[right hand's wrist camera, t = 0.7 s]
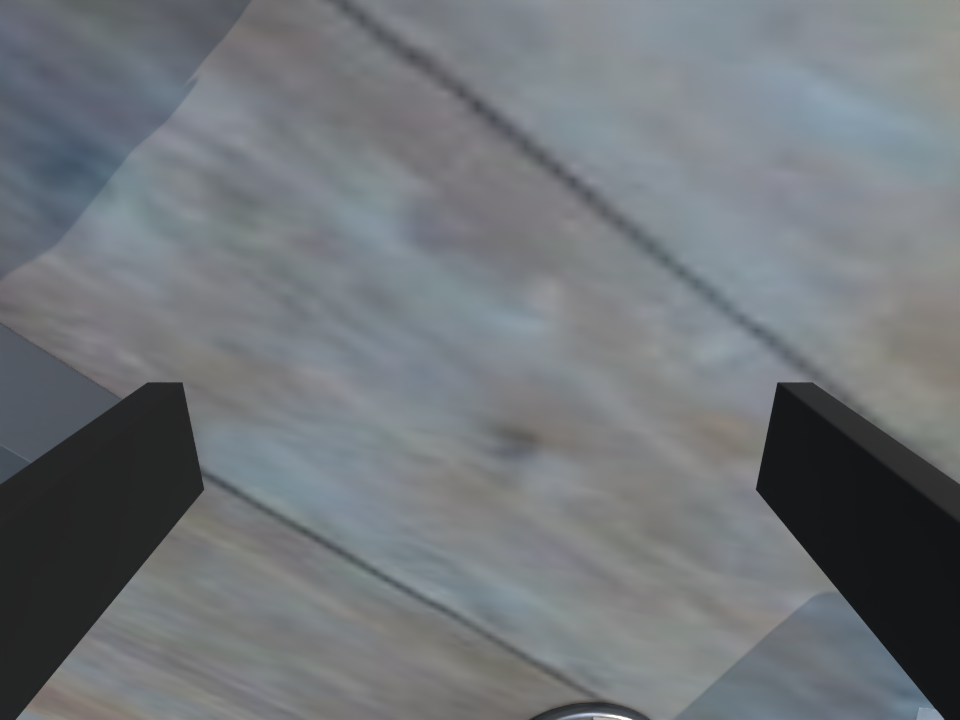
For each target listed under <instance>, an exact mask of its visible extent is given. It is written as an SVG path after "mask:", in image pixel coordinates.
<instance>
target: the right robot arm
mask: <svg viewBox="0 0 960 720" xmlns="http://www.w3.org/2000/svg"><path fill="white" fill-rule="evenodd" d="M203 490H204V487H203V482H202V477H201V472H200V467H199V462H198V457H197V452H196V447H195V442H194V437H193V432H192V427H191V422H190V418H189V413H188V408H187V403H186V398H185V393H184V388H183V383H146V384H145V385H143V386H142V387H141V388H139V389H138V390H136V391H135V392H133V393H132V394H130V395H129V396H128V397H126V398H125V399H123V400H122V401H120V402H119V403H117V404H116V405H114V406H113V407H112V408H110V409H109V410H107V411H106V412H104V413H103V414H101V415H100V416H99V417H97V418H96V419H94V420H93V421H91V422H90V423H88V424H87V425H86V426H84V427H83V428H81V429H80V430H78V431H77V432H75V433H74V434H73V435H71V436H70V437H68V438H67V439H65V440H64V441H62V442H61V443H60V444H58V445H57V446H55V447H54V448H52V449H51V450H49V451H48V452H47V453H45V454H44V455H42V456H41V457H39V458H38V459H36V460H35V461H34V462H32V463H31V464H29V465H28V466H26V467H25V468H23V469H22V470H20V471H19V472H18V473H16V474H15V475H13V476H12V477H10V478H9V479H7V480H6V481H5V482H3V483H2V484H0V720H16V718H17V717H18V716H19V715H20V714H21V712H22V711H23V710H24V709H25V708H26V706H27V705H28V704H29V703H30V701H31V700H32V699H33V698H34V697H35V695H36V694H37V693H38V692H39V690H40V689H41V688H42V687H43V686H44V684H45V683H46V682H47V681H48V679H49V678H50V677H51V676H52V675H53V673H54V672H55V671H56V670H57V668H58V667H59V666H60V665H61V664H62V662H63V661H64V660H65V659H66V657H67V656H68V655H69V654H70V653H71V651H72V650H73V649H74V648H75V646H76V645H77V644H78V643H79V642H80V640H81V639H82V638H83V637H84V635H85V634H86V633H87V632H88V631H89V629H90V628H91V627H92V626H93V625H94V623H95V622H96V621H97V620H98V618H99V617H100V616H101V615H102V614H103V612H104V611H105V610H106V609H107V607H108V606H109V605H110V604H111V603H112V601H113V600H114V599H115V598H116V596H117V595H118V594H119V593H120V592H121V590H122V589H123V588H124V587H125V585H126V584H127V583H128V582H129V581H130V579H131V578H132V577H133V576H134V574H135V573H136V572H137V571H138V570H139V568H140V567H141V566H142V565H143V563H144V562H145V561H146V560H147V559H148V557H149V556H150V555H151V554H152V552H153V551H154V550H155V549H156V548H157V546H158V545H159V544H160V543H161V542H162V540H163V539H164V538H165V537H166V535H167V534H168V533H169V532H170V531H171V529H172V528H173V527H174V526H175V524H176V523H177V522H178V521H179V520H180V518H181V517H182V516H183V515H184V513H185V512H186V511H187V510H188V509H189V507H190V506H191V505H192V504H193V502H194V501H195V500H196V499H197V498H198V496H199V495H200V494H201V493H202V491H203ZM756 490H757V491H758V493H759V494H760V495H761V496H762V498H763V499H764V500H765V501H766V502H767V504H768V505H769V506H770V507H771V509H772V510H773V511H774V512H775V513H776V515H777V516H778V517H779V518H780V520H781V521H782V522H783V523H784V524H785V526H786V527H787V528H788V529H789V531H790V532H791V533H792V534H793V535H794V537H795V538H796V539H797V540H798V542H799V543H800V544H801V545H802V546H803V548H804V549H805V550H806V551H807V552H808V554H809V555H810V556H811V557H812V559H813V560H814V561H815V562H816V563H817V565H818V566H819V567H820V568H821V570H822V571H823V572H824V573H825V574H826V576H827V577H828V578H829V579H830V581H831V582H832V583H833V584H834V585H835V587H836V588H837V589H838V590H839V592H840V593H841V594H842V595H843V596H844V598H845V599H846V600H847V601H848V603H849V604H850V605H851V606H852V607H853V609H854V610H855V611H856V612H857V614H858V615H859V616H860V617H861V618H862V620H863V621H864V622H865V623H866V625H867V626H868V627H869V628H870V629H871V631H872V632H873V633H874V634H875V635H876V637H877V638H878V639H879V640H880V642H881V643H882V644H883V645H884V646H885V648H886V649H887V650H888V651H889V653H890V654H891V655H892V656H893V657H894V659H895V660H896V661H897V662H898V664H899V665H900V666H901V667H902V668H903V670H904V671H905V672H906V673H907V675H908V676H909V677H910V678H911V679H912V681H913V682H914V683H915V684H916V686H917V687H918V688H919V689H920V690H921V692H922V693H923V694H924V695H925V697H926V698H927V699H928V700H929V701H930V703H931V704H932V705H933V706H934V708H935V709H936V710H937V711H938V712H939V714H940V715H941V716H942V717H943V718H944V720H960V484H958V483H957V482H955V481H954V480H953V479H951V478H950V477H948V476H947V475H945V474H944V473H942V472H941V471H940V470H938V469H937V468H935V467H934V466H932V465H931V464H929V463H928V462H926V461H925V460H924V459H922V458H921V457H919V456H918V455H916V454H915V453H913V452H912V451H911V450H909V449H908V448H906V447H905V446H903V445H902V444H900V443H899V442H898V441H896V440H895V439H893V438H892V437H890V436H889V435H887V434H886V433H885V432H883V431H882V430H880V429H879V428H877V427H876V426H874V425H873V424H872V423H870V422H869V421H867V420H866V419H864V418H863V417H861V416H860V415H859V414H857V413H856V412H854V411H853V410H851V409H850V408H848V407H847V406H846V405H844V404H843V403H841V402H840V401H838V400H837V399H835V398H834V397H832V396H831V395H830V394H828V393H827V392H825V391H824V390H822V389H821V388H819V387H818V386H817V385H815V384H814V383H777V388H776V393H775V398H774V403H773V408H772V413H771V418H770V422H769V427H768V432H767V437H766V442H765V447H764V452H763V457H762V462H761V467H760V472H759V477H758V482H757V487H756ZM534 720H649V719H648V718H647V717H645V716H644V715H642V714H640V713H638V712H636V711H634V710H631V709H629V708H626V707H623V706H619V705H614V704H608V703H579V704H572V705H567V706H563V707H560V708H556V709H554V710H551V711H549V712H546V713H544V714H542V715H540V716H539V717H537V718H535V719H534Z"/></svg>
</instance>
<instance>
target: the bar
mask: <svg viewBox="0 0 960 720" xmlns="http://www.w3.org/2000/svg"><path fill="white" fill-rule="evenodd" d="M120 401H122V399H120V398H119V397H117V396H115V395H114V394H112V393H111V392H109V391H107V390H106V389H104V388H103V387H101V386H100V385H98V384H96V383H95V382H93V381H92V380H90V379H88V378H87V377H85V376H84V375H82V374H80V373H79V372H77V371H76V370H74V369H72V368H71V367H69V366H68V365H66V364H65V363H63V362H61V361H60V360H58V359H57V358H55V357H53V356H52V355H50V354H49V353H47V352H45V351H44V350H42V349H41V348H39V347H38V346H36V345H34V344H33V343H31V342H30V341H28V340H26V339H25V338H23V337H22V336H20V335H18V334H17V333H15V332H14V331H12V330H10V329H9V328H7V327H6V326H4V325H3V324H1V323H0V484H2V483H3V482H5V481H6V480H7V479H9V478H10V477H12V476H13V475H15V474H16V473H18V472H19V471H20V470H22V469H23V468H25V467H26V466H28V465H29V464H31V463H32V462H34V461H35V460H36V459H38V458H39V457H41V456H42V455H44V454H45V453H47V452H48V451H49V450H51V449H52V448H54V447H55V446H57V445H58V444H60V443H61V442H62V441H64V440H65V439H67V438H68V437H70V436H71V435H73V434H74V433H75V432H77V431H78V430H80V429H81V428H83V427H84V426H86V425H87V424H88V423H90V422H91V421H93V420H94V419H96V418H97V417H99V416H100V415H101V414H103V413H104V412H106V411H107V410H109V409H110V408H112V407H113V406H114V405H116V404H117V403H119V402H120Z"/></svg>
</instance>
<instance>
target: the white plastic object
mask: <svg viewBox="0 0 960 720" xmlns="http://www.w3.org/2000/svg"><path fill="white" fill-rule="evenodd" d="M916 720H944V718H943V717H942V716H941V715H940V714H939V712H938V711H937V710H936V709H929V708H922V707H919V710H918V714H917V718H916Z"/></svg>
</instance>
